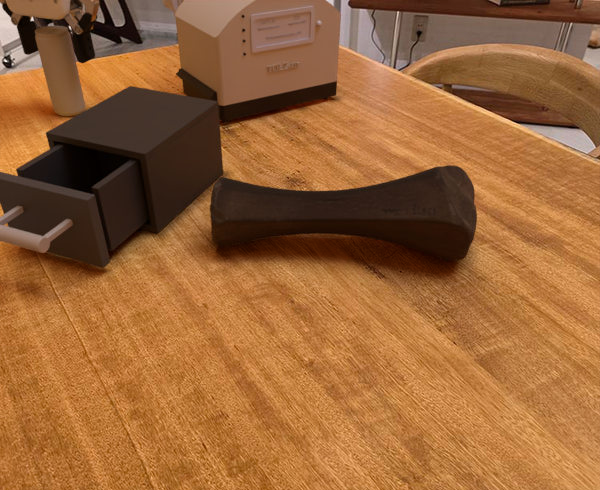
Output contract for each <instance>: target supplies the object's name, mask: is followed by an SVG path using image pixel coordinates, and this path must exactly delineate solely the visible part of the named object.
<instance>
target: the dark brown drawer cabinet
mask: <svg viewBox="0 0 600 490" xmlns="http://www.w3.org/2000/svg"><path fill="white" fill-rule="evenodd" d="M220 121H221V120H219V108H218V101H212V100H207V99H201V98H195V97H190V96H187V95H185V94H178V93H173V92H172V93H171V92H166V91H160V90H155V89H150V88H145V87H138V86H132V85H130V86H127V87H125V88H123V89H122V90H120V91H118V92H117V93H115V94H112V95H111V96H109V97H107V98H106V99H104V100H102V101H100V102H98V103H97V104H94V105H93V106H91V107H88V108H87V109H85V110H84V112H82V113H80V114H78V115H76V116H72V117H71V118H69V119H68V120H66V121H64V122H62V123H60V124H58V125H57V126H55V127H53V128H51V129H50V130H48V131H46V132H45V136H46V140H47V143H48V147H49V149H51V148H53V147H54V146H56V145H58V144H59V143H61V142H62V143H67V144H71V145H76V146H81V147H85V148H90V149H94V150H99V151H104V152H108V153H113V154H117V155H122V156H127V157H131V158H136V159H140V163H141V169H142V175H143V181H144V187H145V193H146V199H147V205H148V210H149V216H150V219H149V220H148V221H146V222H145V223H144V224H143V225H142V226H141V227H139V228H138V229H139V230H143V231H148V232H152V233H156V234H159V233H160V232H161V231H162V230H164V228H165V227H166V226H167V225H169V224H170V223H171V222H172V221H173V220H174V219H176V217H177V216H178V215H180V214H181V213H182V212H183V211H184V210H185V209H186V208H187V207H189V206H190V204H192V203H193V202H194V201H195V200H196V199H198V198H199V197H200V196H201V195H202V194H203V193H204V192H205V191H206V190H207V189H208V188H209V187H210V186H212V185H213V183H214V184H215V182H216V181H217V180H218V178H220V177H222V175H224V166H223V165H224V163H223V152H222V138H221V124H220V123H221V122H220Z"/></svg>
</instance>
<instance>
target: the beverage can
mask: <svg viewBox="0 0 600 490" xmlns="http://www.w3.org/2000/svg"><path fill="white" fill-rule="evenodd" d="M35 33H36V35H35V39H36V43H37V47H38V51H37V52H38V54H39V59H40V61H41V66H42V69H43V73H44V77H45V81H46V86H47V89H48V93H49V98H50V101H51V105H52V110H53V111H54V113H56V114H57V115H59V116H61V117H75V116H77V115H78V114H80V113H82V112H84V111H86V102H85V96H84V92H83V87H82V83H81V79H80V74H79V70H78V69H79V68H78V65H77V58H76V53H75V48H74V44H73V39H72V34H71V33H70V32H69V28H68V27H67V26H63V25H46V26H41V27H37V29H36V30H35Z"/></svg>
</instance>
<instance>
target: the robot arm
mask: <svg viewBox="0 0 600 490" xmlns="http://www.w3.org/2000/svg"><path fill="white" fill-rule="evenodd" d="M0 4H1V5H2V10H3V11H4V12H5V13H6V14H7V15H8V16H9V17H10V22H11V23H12V25H13V26H16V29H17V33H18V36H19V40H20V44H21V48H22V50H23V53H24V55H27V56H30V55H32V54H35V53H37V52H39V51H38V47H37V43H36V39H35V35H36V33H35V30H36V29H38V25H37V23H36V21H35V20H32V18H39V19H46V20H63V19H64V20H65V21H66V23H67V24H68V25H69V26H70V28H71V29H72V30H73V31H74V32H73V33H72V34H71V39H72V44H73V48H74V52H75V57H76V61H77V62H78V63H79V64H85V63H87V62H89V61H91V60H93V59H95V58H96V53H95V47H94V42H93V37H92V33H91V30H93V29H94V24H95V23H96V21H97V20H98V12H99V9H100V0H0ZM83 9H84V10H83Z"/></svg>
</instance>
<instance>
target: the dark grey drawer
mask: <svg viewBox="0 0 600 490" xmlns="http://www.w3.org/2000/svg"><path fill="white" fill-rule="evenodd" d="M15 172H16V175H15V174H11V173H8V172H4V171H3V172H2V171H0V206H1V210H2V212H3V215H1V216H0V242H2V243H6V244H9V245H13V246H17V247H19V248H23V249H26V250H30V251H34V252H37V253H41V254H44V253H49V254H51V255H55V256H59V257H62V258H66V259H69V260H73V261H76V262H80V263H83V264H87V265H89V266H94V267H97V268H102V269H104V268H106V267H107V266H108V265H109V264H110V263H111V258H110V255H109V252H113V251H115V249H116V248H118V247H119V246H120V245H121V244H122V243H123V242H125V241H126V240H128V238H129V237H130V236H131V235H133V234H134V233H135V232H136V231H137V230H138V229H139V227H141V226H142V225H143V224H144V223H145V222H146V221H148V220H149V219H150V216H149V210H148V205H147V199H146V193H145V187H144V181H143V175H142V169H141V163H140V159H136V158H131V157H127V156H122V155H117V154H113V153H108V152H104V151H99V150H94V149H90V148H85V147H81V146H76V145H71V144H67V143H62V142H61V143H59V144H58V145H56V146H54V147H53V148H51V149H50V148H49V149H47V150H46V151H43V152H42V153H41V154H39V155H37V156H36V157H33V158H31V159H30V160H28V161H27V162H26V163H23V164H22V165H21V166H18V167H17V168H16V169H15ZM6 224H7V225H6Z"/></svg>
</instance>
